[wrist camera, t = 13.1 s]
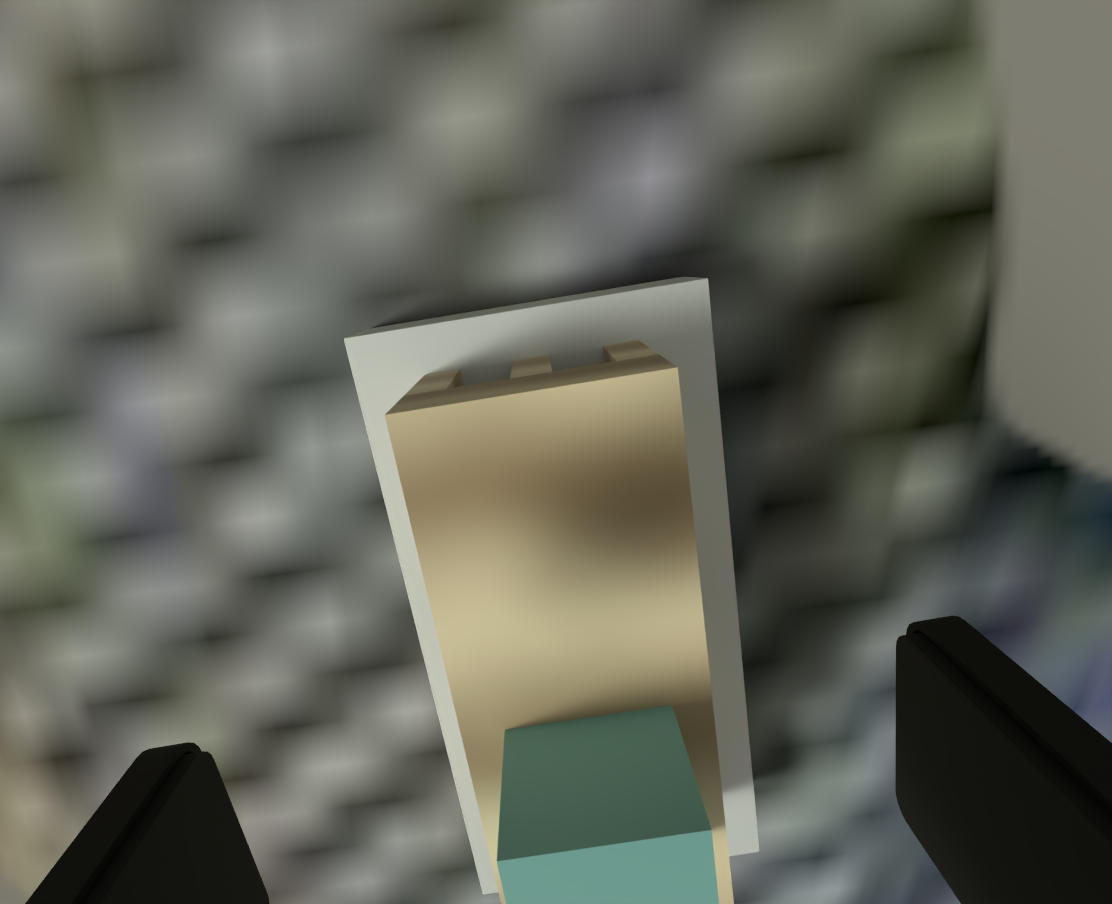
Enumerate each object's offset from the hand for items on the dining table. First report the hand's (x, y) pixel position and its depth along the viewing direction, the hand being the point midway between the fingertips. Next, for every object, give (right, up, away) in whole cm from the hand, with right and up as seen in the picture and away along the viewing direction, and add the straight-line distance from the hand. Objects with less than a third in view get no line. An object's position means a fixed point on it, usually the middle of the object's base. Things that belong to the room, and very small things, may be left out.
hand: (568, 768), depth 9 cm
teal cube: (+1, -4, +7) cm, 8 cm away
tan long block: (0, -1, +11) cm, 11 cm away
